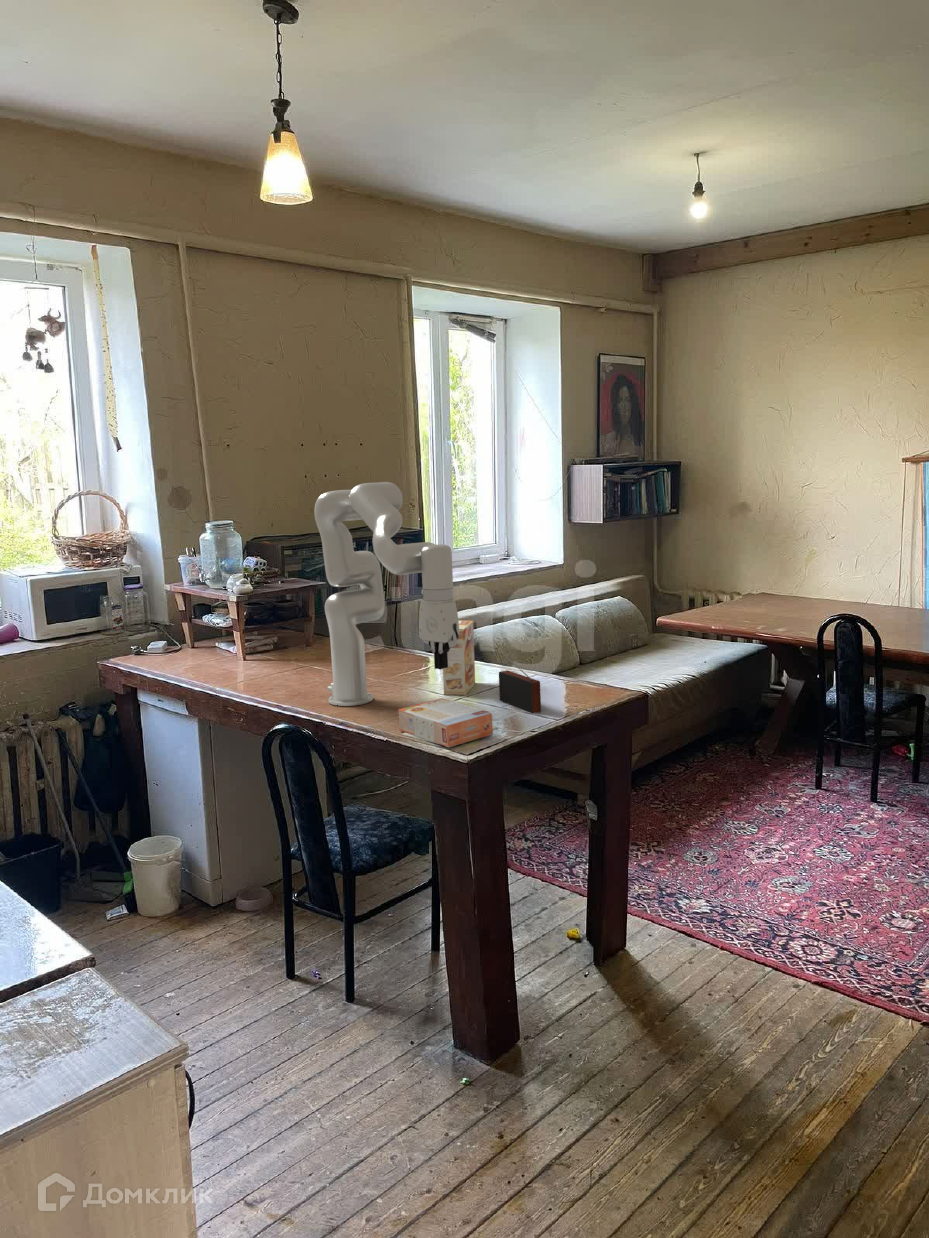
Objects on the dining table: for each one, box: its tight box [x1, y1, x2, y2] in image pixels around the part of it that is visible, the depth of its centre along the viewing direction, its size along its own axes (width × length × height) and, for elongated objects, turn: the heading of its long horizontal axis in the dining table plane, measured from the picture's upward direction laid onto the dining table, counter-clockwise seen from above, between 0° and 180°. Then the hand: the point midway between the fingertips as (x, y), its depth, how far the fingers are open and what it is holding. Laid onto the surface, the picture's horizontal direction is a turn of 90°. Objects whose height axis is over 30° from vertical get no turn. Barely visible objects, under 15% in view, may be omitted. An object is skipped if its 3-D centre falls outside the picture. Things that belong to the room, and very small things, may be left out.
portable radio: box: [496, 647, 542, 714], centre depth 250 cm, size 19×3×15 cm, turn 30°
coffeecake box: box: [442, 619, 476, 696], centre depth 270 cm, size 15×7×20 cm, turn 168°
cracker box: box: [397, 697, 494, 748], centre depth 226 cm, size 14×6×21 cm
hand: (441, 667), depth 228 cm, fingers closed
